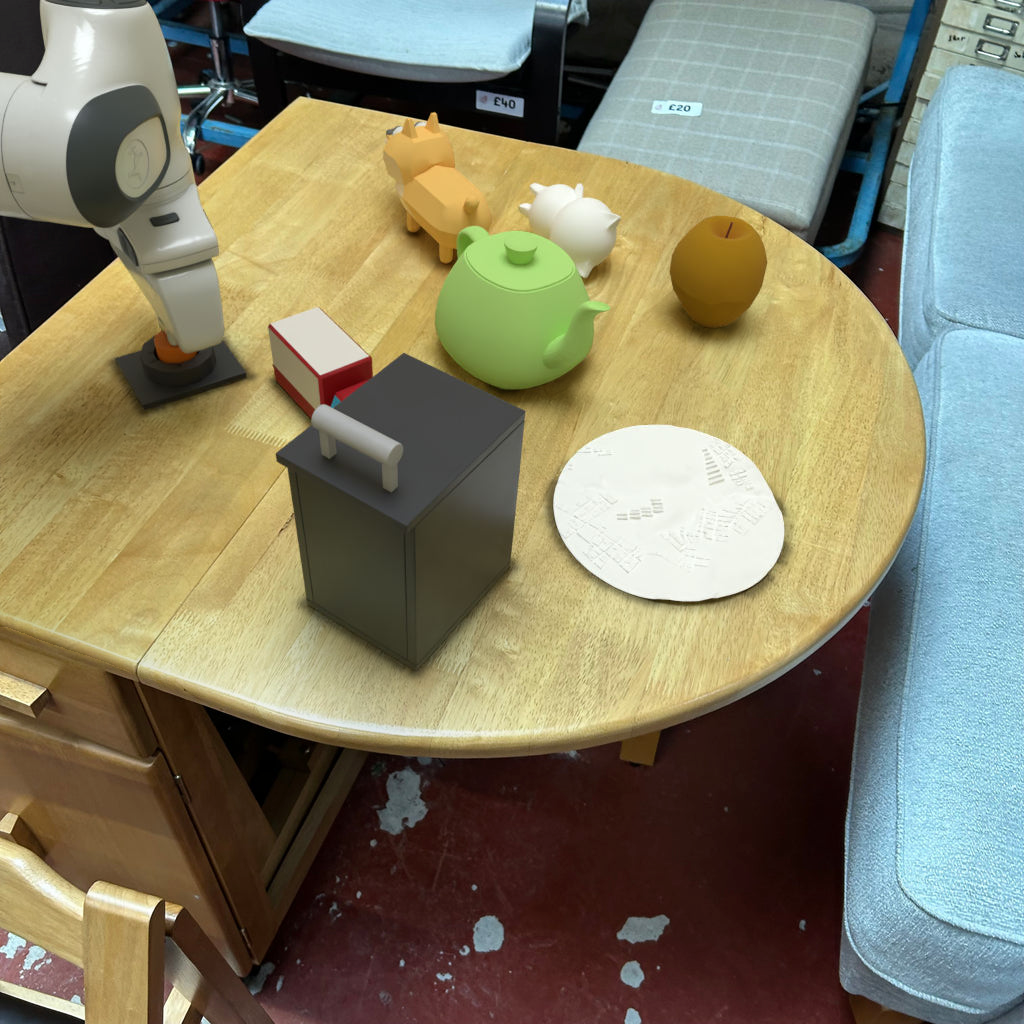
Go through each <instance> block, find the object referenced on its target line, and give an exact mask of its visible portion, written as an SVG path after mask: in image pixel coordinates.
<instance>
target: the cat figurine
mask: <svg viewBox="0 0 1024 1024" xmlns="http://www.w3.org/2000/svg"><path fill="white" fill-rule="evenodd" d="M584 190H585V187H584V184H583V183H579V182H577V184H576V185H575V188H573V187H571V186H569V185H567V184H562V183H557V184H552V185H549V186H545V185H542V184H541V183H538V182H533V183H532V184H530V185H529V191H530V192H531V194H532V195H533V196H534V200H533V202H532V203H530V202H529V203H528V202H524V203H521V204H519V205H518V211H519V213H520V214H521V215H523V217H525V218H526V219H527V220H528V225H529V229H530V230H531V233H533V234H537V235H539V236H542V237H544V238H546V239H548V240H550V241H552V242H553V243H555V244H556V245H558V246H559V247H560V248H562V249H563V250H564V251H565V252H566V253H567V254H568V255H569V256H570V258H571V259H572V261H573V262H574V264H575V266H576V268H577V269H578V272H579V274H580V276H581V278H582V279H587V278H588V277H589V276H590V274H591V272H592V271H593V269H594V268H595V267H596V266H598V265H600V264H601V263H602V262H604V261H605V260H606V259H607V258H608V257H609V256H610V254H612V252H613V250H614V248H615V245H616V241H617V237H618V235H617V234H618V231H617V227H618V225H619V224H620V222H621V220H622V217H621V216H620V215H619V214H616V213H613V212H612V210H611V209H610V208H609V207H608V206H607V205H606V203H604V202H603V201H601V200H599V199H597V198H593V197H584Z"/></svg>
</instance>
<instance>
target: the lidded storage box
mask: <svg viewBox="0 0 1024 1024" xmlns="http://www.w3.org/2000/svg"><path fill="white" fill-rule="evenodd" d="M525 420H526V419H525ZM525 420H524V421H523V422H522V423H520V424H519V425H518V426H517V427H516V428H515V429H514V430H513V431H512V432H511V433H510V434H509V435H508V436H507V437H506V438H505V439H504V440H503V441H502V442H501V443H500V444H499V445H498V446H497V447H496V448H495V449H494V450H493V451H492V452H491V453H490V454H489V455H488V456H487V457H486V458H485V459H483V460H482V461H481V462H480V463H479V464H478V465H477V466H476V467H475V468H474V469H473V470H472V471H471V472H470V473H469V474H468V475H467V476H466V477H465V478H464V479H463V480H462V481H461V482H460V483H459V484H458V485H457V486H456V487H455V488H454V489H453V490H452V491H451V492H450V493H449V494H447V495H446V496H445V497H444V498H443V499H442V500H441V501H440V502H439V503H438V504H437V505H436V506H435V507H434V508H433V509H432V510H431V511H430V512H429V513H428V514H427V515H426V516H425V517H424V518H423V519H422V520H421V521H420V522H419V523H418V524H417V525H416V526H415V527H414V528H413V529H412V530H410V531H409V532H408V533H407V534H405V533H403V532H402V531H400V530H398V529H396V528H395V527H393V526H391V525H389V524H387V523H386V522H384V521H382V520H380V519H378V518H377V517H375V516H373V515H371V514H369V513H368V512H366V511H364V510H362V509H360V508H359V507H357V506H355V505H353V504H352V503H350V502H348V501H346V500H344V499H343V498H341V497H339V496H337V495H335V494H334V493H332V492H330V491H328V490H326V489H325V488H323V487H321V486H319V485H317V484H316V483H314V482H312V481H310V480H308V479H307V478H305V477H303V476H301V475H300V474H298V473H296V472H294V471H292V470H291V469H289V468H287V467H286V468H287V475H288V482H289V488H290V489H289V490H290V495H291V503H292V510H293V516H294V517H293V518H294V523H295V530H296V536H297V543H298V544H297V545H298V550H299V557H300V563H301V571H302V579H303V585H304V591H305V592H304V593H305V598H306V599H305V600H306V604H307V606H309V607H311V608H312V609H314V610H316V611H317V612H319V613H320V614H321V615H323V616H325V617H327V618H328V619H330V620H332V621H334V622H335V623H336V624H338V625H340V626H342V627H343V628H345V629H347V630H348V631H349V632H351V633H353V634H355V635H356V636H358V637H359V638H361V639H363V640H364V641H366V642H368V643H369V644H370V645H372V646H374V647H376V648H377V649H378V650H380V651H382V652H384V653H385V654H387V655H388V656H390V657H392V658H393V659H395V660H397V661H398V662H400V663H402V664H403V665H405V666H407V667H408V668H410V669H411V670H413V671H415V672H418V671H419V670H420V668H421V667H422V666H423V665H424V664H425V663H426V661H427V660H428V659H429V658H430V657H431V656H432V655H433V654H434V653H435V652H436V650H437V649H438V648H439V647H440V646H441V645H442V644H443V643H444V641H445V640H446V639H447V638H448V637H449V636H450V635H451V634H452V633H453V631H454V630H455V629H456V628H457V627H458V626H459V625H460V623H461V622H462V621H464V619H466V617H467V616H468V614H469V613H470V612H471V611H472V610H473V609H474V608H475V606H476V605H477V604H479V602H480V601H481V600H482V599H483V598H484V596H485V595H487V593H488V592H490V590H491V589H492V588H493V586H494V585H495V584H496V583H497V582H498V581H499V580H500V578H502V576H503V575H504V574H505V573H506V572H507V571H508V570H509V568H510V567H511V563H512V562H511V560H512V551H513V543H514V534H515V533H514V531H515V524H516V523H515V521H516V514H517V513H516V512H517V502H518V492H519V483H520V473H521V462H522V453H523V442H524V441H523V440H524V433H525Z"/></svg>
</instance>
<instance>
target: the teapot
mask: <svg viewBox="0 0 1024 1024" xmlns="http://www.w3.org/2000/svg"><path fill="white" fill-rule="evenodd" d="M456 255H457V260H456V262H455V263H454V265H453V266H452V268H451V270H450V271H449V272H448V273H447V276H446V278H445V279H444V281H443V284H442V286H441V289H440V292H439V295H438V298H437V302H436V306H435V314H434V327H435V331H436V335H437V336H438V340H439V342H440V343H441V345H442V348H444V350H445V351H446V352H447V354H448V355H449V356H450V357H451V359H452V360H453V361H454V362H456V364H457V365H458V366H459V367H461V368H462V369H463V370H464V371H465V372H467V373H468V374H470V375H471V376H473V377H474V378H476V379H478V380H479V381H481V382H484V383H486V384H488V385H491V386H494V387H497V388H498V389H501V390H505V391H506V390H525V389H530V388H536V387H538V386H541V385H545V384H547V383H551V382H553V381H554V380H556V379H559V378H560V377H562V376H564V375H566V374H567V373H569V372H570V371H571V370H573V369H575V367H577V366H578V365H579V364H581V362H582V361H584V360H585V359H586V358H587V356H588V355H589V353H590V351H591V349H592V347H593V343H594V335H595V323H594V321H595V319H596V317H597V315H599V314H601V313H604V312H608V311H610V310H611V306H610V305H609V304H607V303H605V302H602V301H598V300H591V299H590V296H589V293H588V291H587V288H586V285H585V284H584V281H583V277H582V276H580V274H579V272H578V269H577V268H576V266H575V264H574V262H573V261H572V259H571V258H570V256H569V255H568V254H567V253H566V252H565V251H564V250H563V249H562V248H560V247H559V246H558V245H556V244H555V243H553V242H552V241H550V240H548V239H546V238H544V237H542V236H539V235H537V234H533V232H529V231H525V230H507V231H502V232H497V233H495V234H494V233H493V234H492V235H490V233H489V232H487V231H486V230H485V229H483V228H482V227H479V226H470V227H467V228H464V229H463V230H461V231H460V232H459V234H458V236H457V249H456Z"/></svg>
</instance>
